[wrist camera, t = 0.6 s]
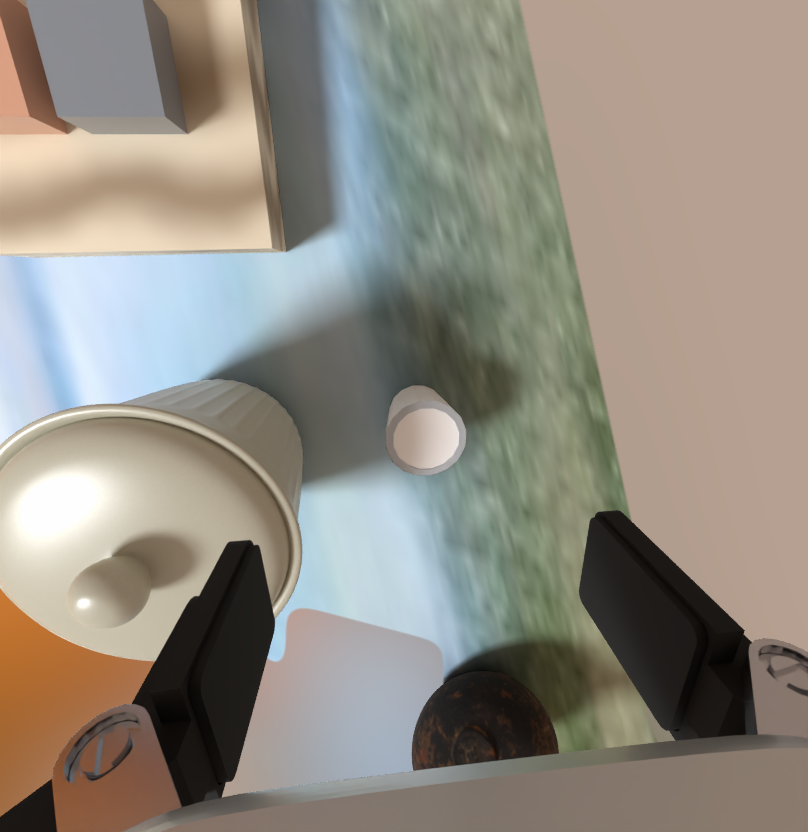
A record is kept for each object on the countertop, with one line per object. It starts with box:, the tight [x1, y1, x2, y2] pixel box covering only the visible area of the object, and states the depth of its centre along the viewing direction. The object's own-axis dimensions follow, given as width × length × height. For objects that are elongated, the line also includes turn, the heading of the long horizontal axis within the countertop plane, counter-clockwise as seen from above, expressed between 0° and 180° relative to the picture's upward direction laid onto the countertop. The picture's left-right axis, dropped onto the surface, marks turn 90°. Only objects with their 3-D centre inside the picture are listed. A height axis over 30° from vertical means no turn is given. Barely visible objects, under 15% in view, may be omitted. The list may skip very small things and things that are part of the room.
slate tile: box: [25, 0, 188, 134], centre depth 23 cm, size 6×6×3 cm
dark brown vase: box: [412, 671, 559, 771], centre depth 41 cm, size 18×18×28 cm
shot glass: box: [386, 385, 466, 475], centre depth 36 cm, size 7×7×7 cm
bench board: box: [0, 0, 286, 257], centre depth 27 cm, size 20×20×5 cm
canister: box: [0, 379, 303, 661], centre depth 28 cm, size 18×18×21 cm
